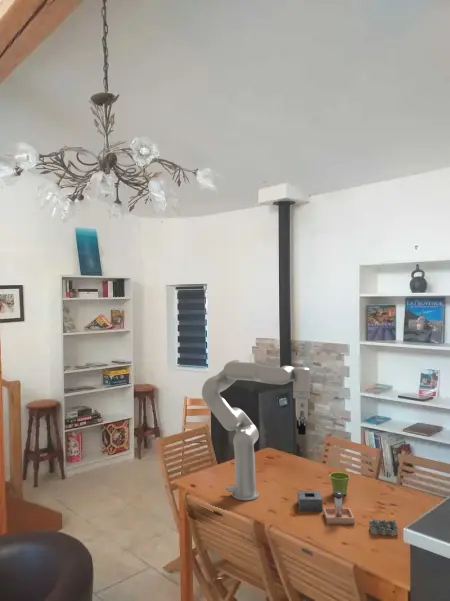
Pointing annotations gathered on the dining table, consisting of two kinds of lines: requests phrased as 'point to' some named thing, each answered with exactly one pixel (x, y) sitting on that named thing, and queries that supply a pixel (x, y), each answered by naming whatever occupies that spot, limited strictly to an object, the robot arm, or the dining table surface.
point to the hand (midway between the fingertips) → (300, 431)
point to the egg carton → (383, 527)
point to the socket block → (310, 501)
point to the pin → (338, 503)
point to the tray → (331, 519)
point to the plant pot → (339, 482)
